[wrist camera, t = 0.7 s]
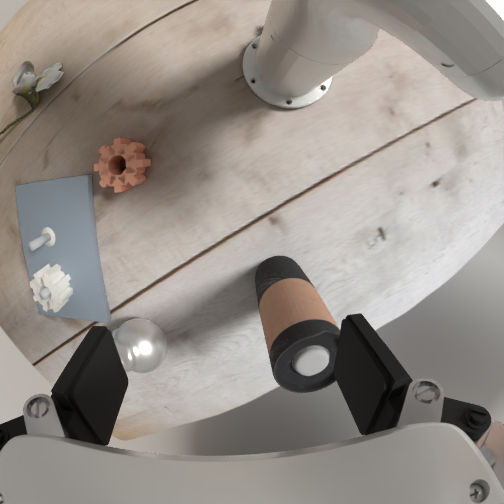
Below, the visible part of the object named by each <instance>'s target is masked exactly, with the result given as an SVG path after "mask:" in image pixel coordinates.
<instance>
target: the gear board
mask: <svg viewBox="0 0 504 504" xmlns="http://www.w3.org/2000/svg"><path fill="white" fill-rule="evenodd" d="M15 188H16V201H17V211H18V219H19V226H20V233H21V239H22V245H23V250H24V255H25V260H26V265H27V269H28V273H29V278H30V281H32V280H33V279H34V276H33V275H34V274H35V273H36V272H38V271H39V270H40V269H42V268H43V267H44V266H46V265H47V264H49V265H50V267H51V268H52V267H53V266H54V265H56V264H58V265H60V266H61V271H63V272H64V274H65V275H67V274H69V276H70V278H71V280H69V283H70V287H71V288H73V294H72V295H71V296H70V297H69V298H68V299H69V300H68V301H67V302H66V303H65V305H64V306H63V307H62V308H61V309H60V310H59V311H58V312H56V313H54V311H53V309H49V310H48V311H47V312H46V311H45V310H43V305H41V304H40V303H39V301H36V303H37V306H38V309H39V313H40V314H41V315H48V316H55V317H62V318H70V319H79V320H87V321H97V322H109V321H110V319H111V315H110V310H109V306H108V301H107V296H106V291H105V286H104V281H103V275H102V270H101V263H100V257H99V250H98V243H97V234H96V225H95V215H94V203H93V186H92V174H91V175H82V176H74V177H66V178H59V179H52V180H46V181H39V182H33V183H28V184H22V185H18V186H15ZM50 294H51V292H50V290H49V289H48V288H47V287H45V288H44V289H43V290H42V291H41V292H40V293H39V295H40V298H41V299H42V300H45V299H46V298H47V297H48V296H49V295H50ZM34 295H35V294H34Z"/></svg>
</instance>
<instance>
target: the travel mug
mask: <svg viewBox="0 0 504 504" xmlns="http://www.w3.org/2000/svg"><path fill="white" fill-rule="evenodd" d="M255 283H256V291H257V298H258V305H259V312H260V317H261V321H262V326H263V330H264V335H265V340H266V344H267V349H268V353H269V358H270V362H271V367H272V372H273V375H274V378H275V380H276V382H277V383H278V384H279V385H280V386H281V387H282V388H284V389H286V390H289V391H292V392H297V393H307V392H313V391H317V390H320V389H323V388H325V387H327V386H329V385H331V384H332V383H334V382H335V381H336V378H335V376H334V364H335V358H336V353H337V348H338V342H339V336H340V329H339V328H338V326H337V324H336V322H335V321H334V319H333V317H332V316H331V314H330V312H329V311H328V309H327V307H326V305H325V304H324V302H323V300H322V299H321V297H320V295H319V294H318V292H317V290H316V289H315V287H314V286H313V284H312V283H311V282H310V280H309V279H308V277H307V276H306V275H305V273H304V272H303V271H302V269H301V268H300V266H299V265H298V264H297V263H296V262H295V261H294V260H293V259H291V258H289V257H286V256H274V257H271V258H269V259H267V260H265V261H264V262H263V263H262V264H261V265H260V266H259V268H258V270H257V272H256V276H255Z"/></svg>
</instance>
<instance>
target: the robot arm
mask: <svg viewBox="0 0 504 504" xmlns="http://www.w3.org/2000/svg"><path fill="white" fill-rule="evenodd" d="M379 28H381V29H383V30H384V31H386V32H387V33H389V34H390V35H392V36H394V37H396V38H398V39H399V40H400V41H402V42H403V43H405V44H406V45H407V46H409V47H410V48H411V49H413V50H414V51H415V52H417V53H418V54H419V55H421V56H422V57H423V58H424V59H426V60H427V61H428V62H429V63H430V64H432V65H433V66H434V67H435V68H436V69H437V70H439V71H440V72H441V73H442V74H443V75H444V76H446V77H447V78H448V79H449V80H450V81H451V82H452V83H454V84H455V85H456V86H457V87H458V88H460V89H461V90H462V91H464V92H465V93H467V94H469V95H470V96H472V97H475V98H477V99H480V100H485V101H499V100H503V99H504V0H272V2H271V5H270V8H269V11H268V14H267V18H266V21H265V25H264V28H263V31H262V35H260V36H258V37H256V38H255V39H254V40H253V41H252V42H251V43H250V44H249V46H248V47H247V49H246V51H245V54H244V57H243V65H242V69H243V74H244V77H245V80H246V82H247V84H248V85H249V87H250V88H251V90H252V91H253V92H254V93H255V94H256V95H257V96H258V97H260V98H261V99H262V100H264V101H266V102H268V103H270V104H272V105H275V106H278V107H282V108H289V109H290V108H301V107H306V106H308V105H311V104H313V103H315V102H316V101H318V100H319V99H320V98H322V97H323V96H324V95H325V94H326V92H327V91H328V90H329V87H330V85H331V83H332V78H333V75H334V74H336V73H337V72H339V71H340V70H342V69H343V68H344V67H346V66H347V65H349V64H350V63H352V62H353V61H355V60H356V59H358V58H359V57H361V56H362V55H363V54H365V53H366V52H367V51H368V50H369V49H370V48H371V47H372V46H373V44H374V43H375V41H376V39H377V36H378V32H379ZM253 47H255V48H256V49H253ZM251 81H255V83H251ZM320 88H322V89H323V90H321V89H320ZM286 101H288V102H289V104H286ZM334 376H335V378H336V381H337V383H338V385H339V387H340V389H341V391H342V394H343V396H344V398H345V400H346V402H347V404H348V406H349V409H350V411H351V414H352V416H353V418H354V420H355V422H356V425H357V427H358V429H359V432H360V433H361V434H362V435H365V436H362V437H358V438H354V439H350V440H345V441H340V442H336V443H331V444H326V445H321V446H316V447H310V448H304V449H298V450H292V451H284V452H275V453H266V454H254V455H238V456H186V455H185V456H184V455H169V454H157V453H147V452H139V451H132V450H125V449H119V448H113V447H108V446H105V445H108V444H109V441H110V438H111V435H112V431H113V428H114V425H115V422H116V419H117V416H118V413H119V410H120V407H121V404H122V401H123V398H124V395H125V392H126V390H127V387H128V377H127V375H126V372H125V370H124V367H123V364H122V362H121V359H120V356H119V353H118V350H117V348H116V345H115V342H114V339H113V336H112V333H111V331H110V330H108V329H107V328H106V327H105V326H93V327H92V328H91V329H90V330H89V332H88V333H87V335H86V336H85V338H84V339H83V341H82V342H81V344H80V345H79V347H78V348H77V350H76V351H75V353H74V354H73V356H72V358H71V359H70V361H69V362H68V364H67V365H66V367H65V369H64V370H63V372H62V373H61V375H60V377H59V378H58V380H57V382H56V383H55V385H54V387H53V389H52V390H51V392H52V393H53V394H52V395H51V397H49V396H48V395H45V394H38V395H34V396H32V397H31V398H29V399H28V400H27V401H26V403H25V404H24V407H23V414H24V415H22V416H20V417H18V418H15V419H13V420H10V421H8V422H5V423H3V424H0V504H504V424H503V423H501V422H499V421H497V420H495V421H494V422H491V417H490V414H489V412H488V411H487V410H486V409H485V408H483V407H481V406H478V405H474V404H470V403H466V402H462V401H458V400H454V399H450V398H446V397H444V391H443V389H442V387H441V386H440V384H439V383H437V382H436V381H434V380H431V379H428V378H421V379H417V380H414V381H413V380H412V379H411V378H410V376H409V375H408V374H407V372H406V371H405V369H404V368H403V367H402V365H401V364H400V363H399V362H398V360H397V359H396V357H395V356H394V355H393V354H392V352H391V351H390V350H389V348H388V347H387V346H386V344H385V343H384V342H383V341H382V339H381V338H380V337H379V336H378V334H377V333H376V332H375V330H374V329H373V328H372V327H371V325H370V324H369V323H368V321H367V320H366V319H365V318H364V316H363V315H362V314H353V315H347V317H346V319H343V320H342V324H341V330H340V336H339V342H338V348H337V353H336V358H335V364H334Z"/></svg>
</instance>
